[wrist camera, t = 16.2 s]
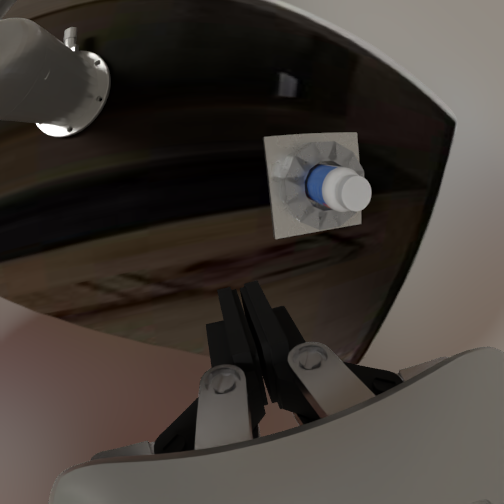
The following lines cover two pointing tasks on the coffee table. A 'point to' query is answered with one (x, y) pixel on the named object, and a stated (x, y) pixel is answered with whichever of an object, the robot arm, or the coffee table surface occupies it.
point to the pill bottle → (337, 188)
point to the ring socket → (293, 177)
